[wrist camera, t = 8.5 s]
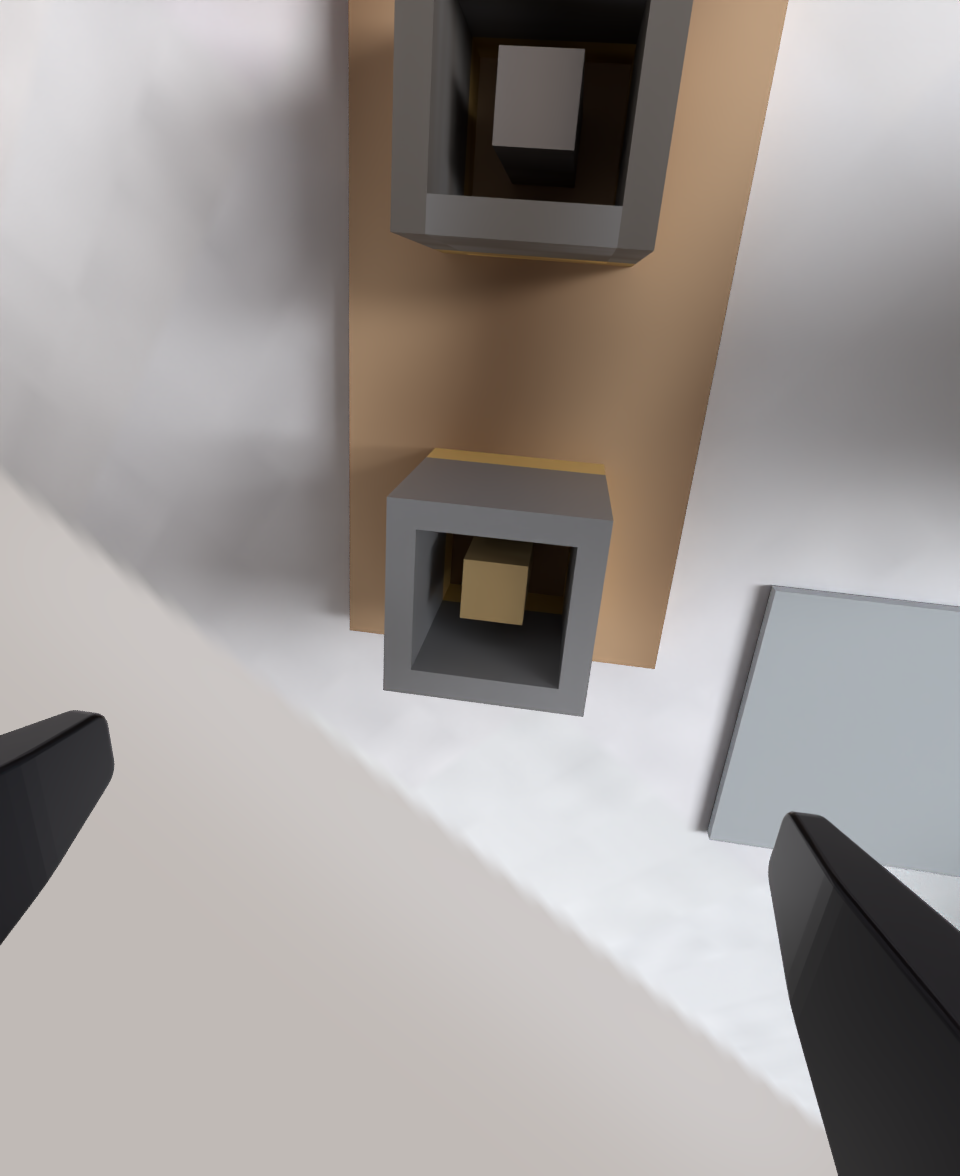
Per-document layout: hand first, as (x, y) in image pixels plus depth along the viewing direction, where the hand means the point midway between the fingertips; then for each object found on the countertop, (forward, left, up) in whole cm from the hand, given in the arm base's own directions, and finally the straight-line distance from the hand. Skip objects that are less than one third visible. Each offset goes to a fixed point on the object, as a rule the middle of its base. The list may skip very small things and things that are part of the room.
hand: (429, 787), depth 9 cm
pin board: (0, -5, -12) cm, 13 cm away
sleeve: (0, 0, -11) cm, 11 cm away
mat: (-12, +5, -12) cm, 18 cm away
